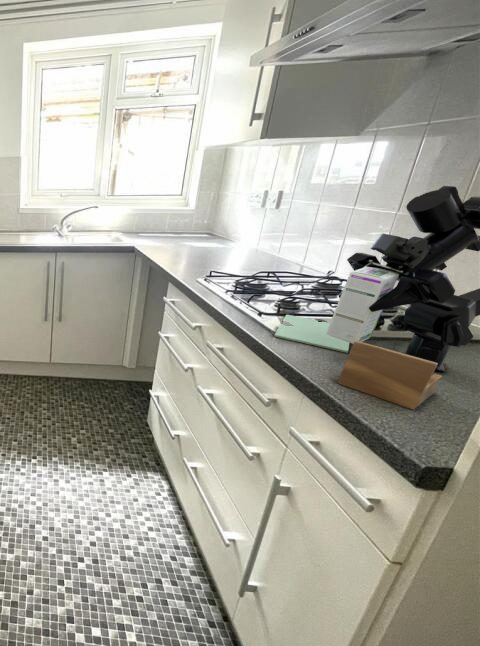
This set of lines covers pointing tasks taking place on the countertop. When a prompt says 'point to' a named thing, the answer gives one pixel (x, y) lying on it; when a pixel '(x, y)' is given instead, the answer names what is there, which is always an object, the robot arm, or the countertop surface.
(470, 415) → the countertop surface
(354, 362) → the stand
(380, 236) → the robot arm
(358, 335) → the syrup box
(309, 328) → the mat
